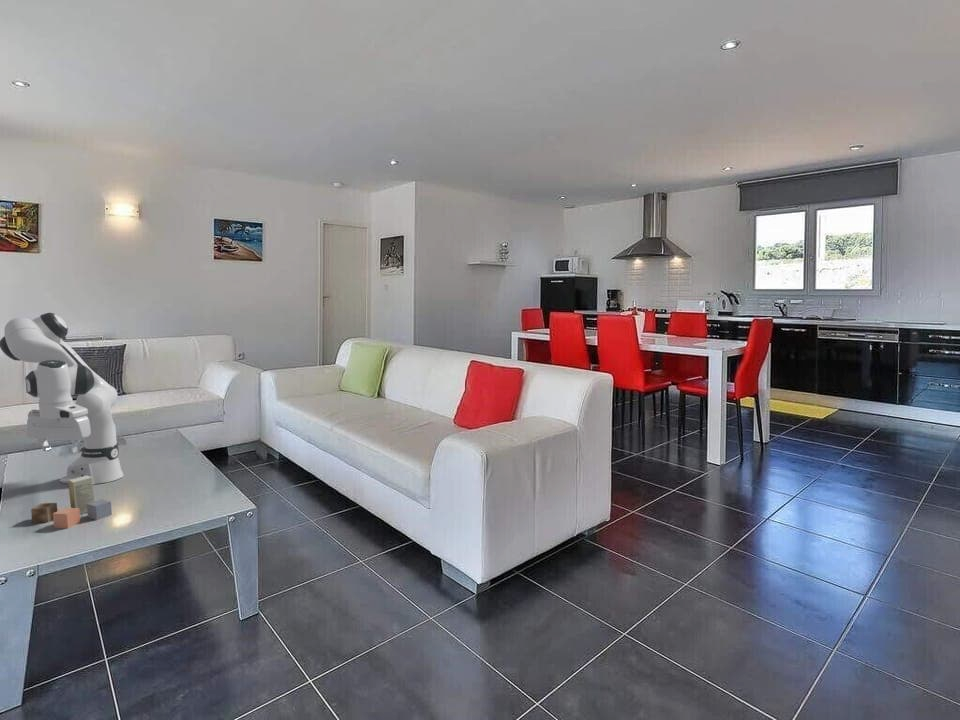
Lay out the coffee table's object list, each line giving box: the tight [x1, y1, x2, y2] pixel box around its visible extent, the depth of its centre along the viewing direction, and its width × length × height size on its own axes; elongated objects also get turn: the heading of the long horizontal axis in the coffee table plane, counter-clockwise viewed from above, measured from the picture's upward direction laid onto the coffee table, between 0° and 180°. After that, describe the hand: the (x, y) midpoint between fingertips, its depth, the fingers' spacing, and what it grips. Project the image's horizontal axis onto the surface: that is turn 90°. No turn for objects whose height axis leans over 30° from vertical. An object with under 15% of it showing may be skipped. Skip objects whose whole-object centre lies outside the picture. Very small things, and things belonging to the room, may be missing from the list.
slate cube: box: [86, 498, 113, 521], centre depth 192 cm, size 5×5×5 cm
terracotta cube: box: [52, 507, 81, 529], centre depth 185 cm, size 5×5×5 cm
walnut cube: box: [30, 502, 58, 524], centre depth 189 cm, size 5×5×5 cm
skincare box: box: [67, 475, 96, 515], centre depth 195 cm, size 6×4×12 cm
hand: (60, 451), depth 182 cm, fingers open, 8 cm apart
